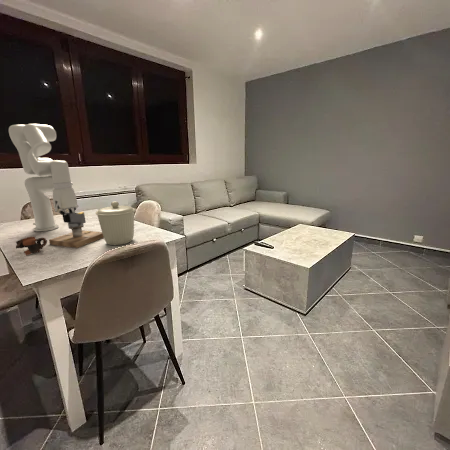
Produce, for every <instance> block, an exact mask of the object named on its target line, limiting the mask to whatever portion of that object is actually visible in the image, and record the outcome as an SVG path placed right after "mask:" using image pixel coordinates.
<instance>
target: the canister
mask: <svg viewBox="0 0 450 450" xmlns="http://www.w3.org/2000/svg"><path fill="white" fill-rule="evenodd" d="M135 211H136V209H135V208H133V207H132V206H130V205H120V204H119V202H118V201H116V200H115V201H112V202H111V203H110V206H105V207H103V208H101V207H100V209H98V210H97V211H96V212H95V215H96V216H97V218H98V222H99V223H98V224H99V225H100V229H101V232H102V233H103V237H104V238H103V239H104V241H105V243H106V244H108V245H109V246H110V245H111V246H120V245H121V246H122V245H125V244H129V243H130V242H132V240H134V237H135V236H134V234H135Z"/></svg>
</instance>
